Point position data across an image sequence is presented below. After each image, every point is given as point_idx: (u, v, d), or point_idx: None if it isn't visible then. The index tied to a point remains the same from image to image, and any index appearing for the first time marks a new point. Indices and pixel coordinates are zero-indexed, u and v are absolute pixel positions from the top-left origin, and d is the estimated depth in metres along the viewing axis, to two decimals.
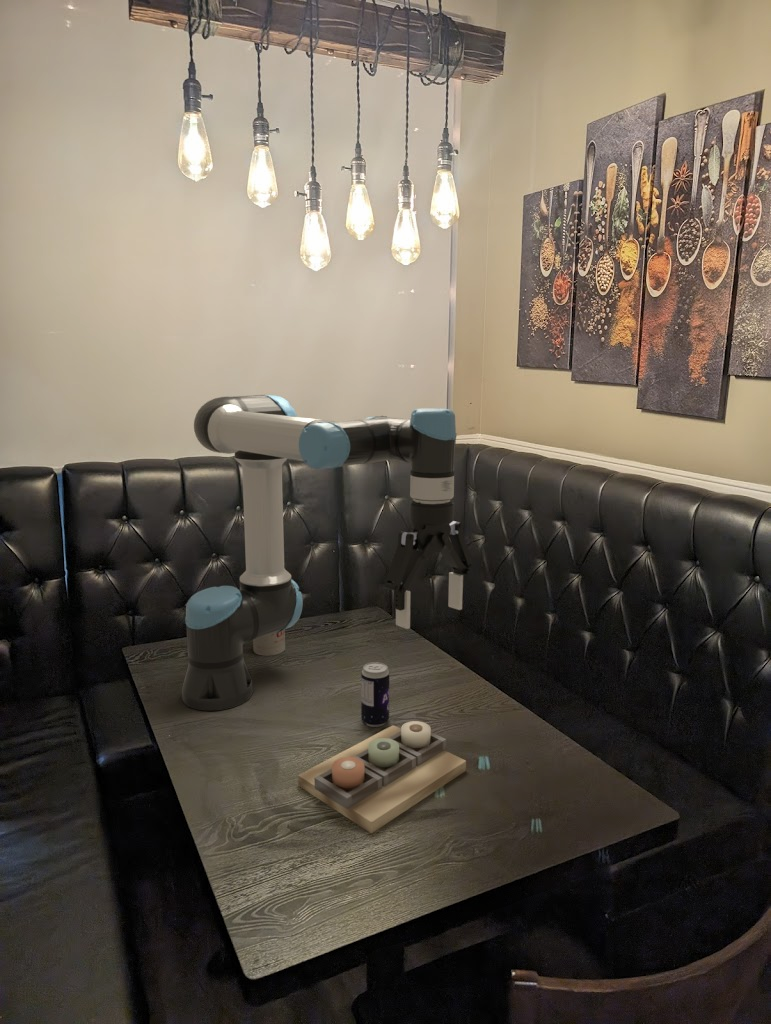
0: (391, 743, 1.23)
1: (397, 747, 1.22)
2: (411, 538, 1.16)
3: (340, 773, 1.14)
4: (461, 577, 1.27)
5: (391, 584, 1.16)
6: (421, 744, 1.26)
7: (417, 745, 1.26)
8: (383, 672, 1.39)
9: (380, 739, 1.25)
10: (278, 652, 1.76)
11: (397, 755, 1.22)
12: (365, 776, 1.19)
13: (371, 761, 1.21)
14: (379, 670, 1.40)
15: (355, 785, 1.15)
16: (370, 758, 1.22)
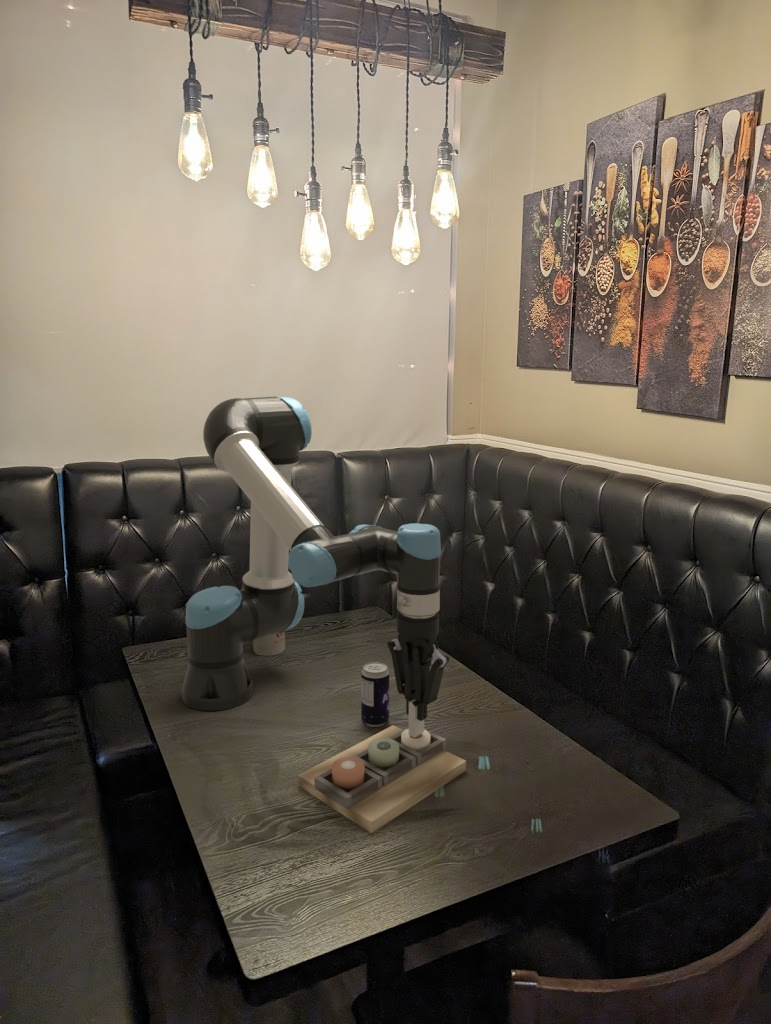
0: (391, 743, 1.23)
1: (397, 747, 1.22)
2: (389, 645, 1.28)
3: (340, 773, 1.14)
4: (413, 705, 1.26)
5: None
6: None
7: None
8: (383, 672, 1.39)
9: (380, 739, 1.25)
10: (278, 652, 1.76)
11: (397, 755, 1.22)
12: (365, 776, 1.19)
13: (371, 761, 1.21)
14: (379, 670, 1.40)
15: (355, 785, 1.15)
16: (370, 758, 1.22)
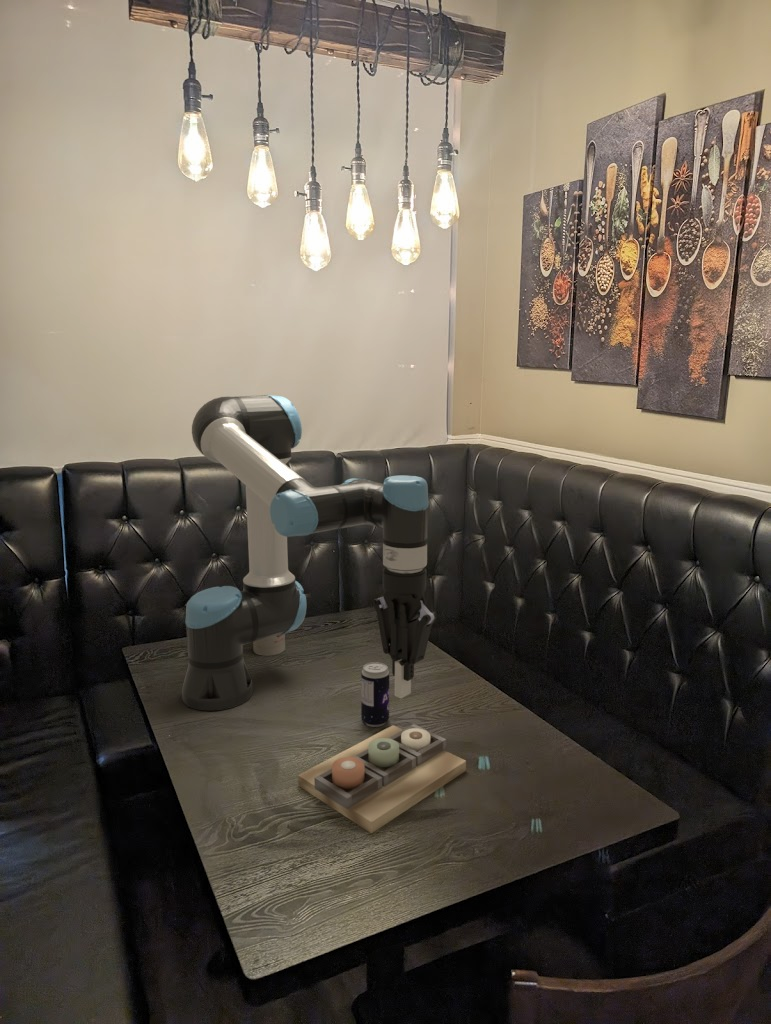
0: (391, 743, 1.23)
1: (397, 747, 1.22)
2: (374, 603, 1.24)
3: (340, 773, 1.14)
4: (399, 665, 1.22)
5: None
6: None
7: None
8: (383, 672, 1.39)
9: (380, 739, 1.25)
10: (278, 652, 1.76)
11: (397, 755, 1.22)
12: (365, 776, 1.19)
13: (371, 761, 1.21)
14: (379, 670, 1.40)
15: (355, 785, 1.15)
16: (370, 758, 1.22)
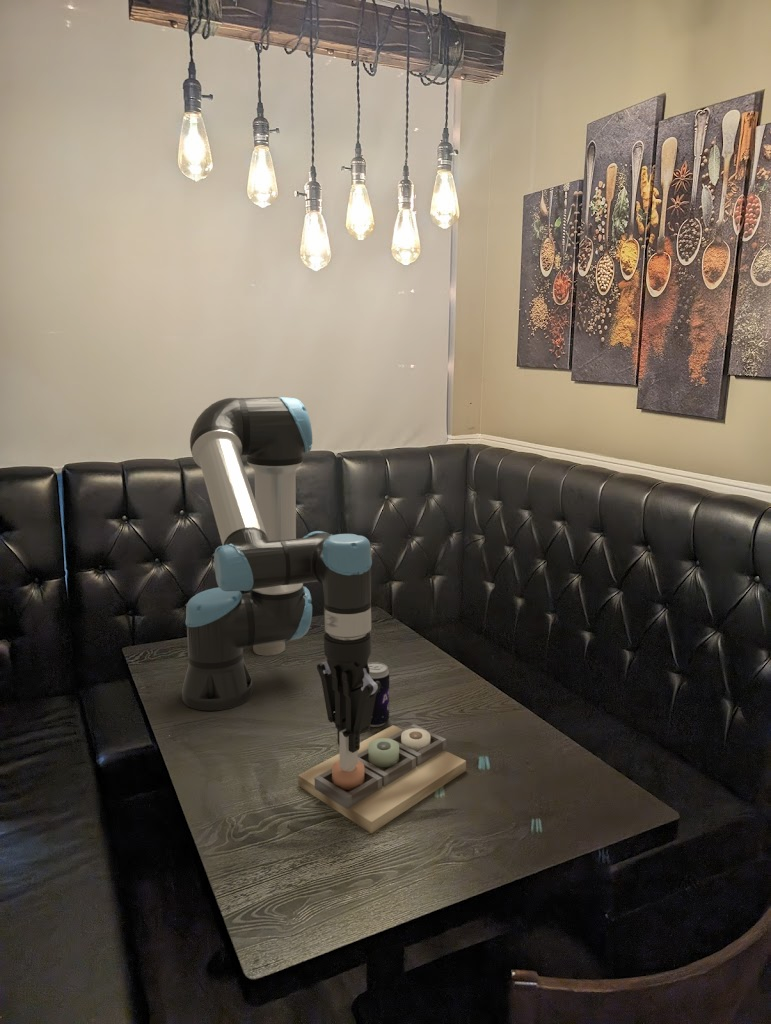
0: (391, 743, 1.23)
1: (397, 747, 1.22)
2: (318, 668, 1.16)
3: (340, 775, 1.14)
4: (343, 735, 1.14)
5: None
6: None
7: None
8: (383, 672, 1.39)
9: (380, 739, 1.25)
10: (278, 652, 1.76)
11: (397, 755, 1.22)
12: (365, 776, 1.19)
13: (371, 761, 1.21)
14: (379, 670, 1.40)
15: (355, 787, 1.15)
16: (370, 758, 1.22)
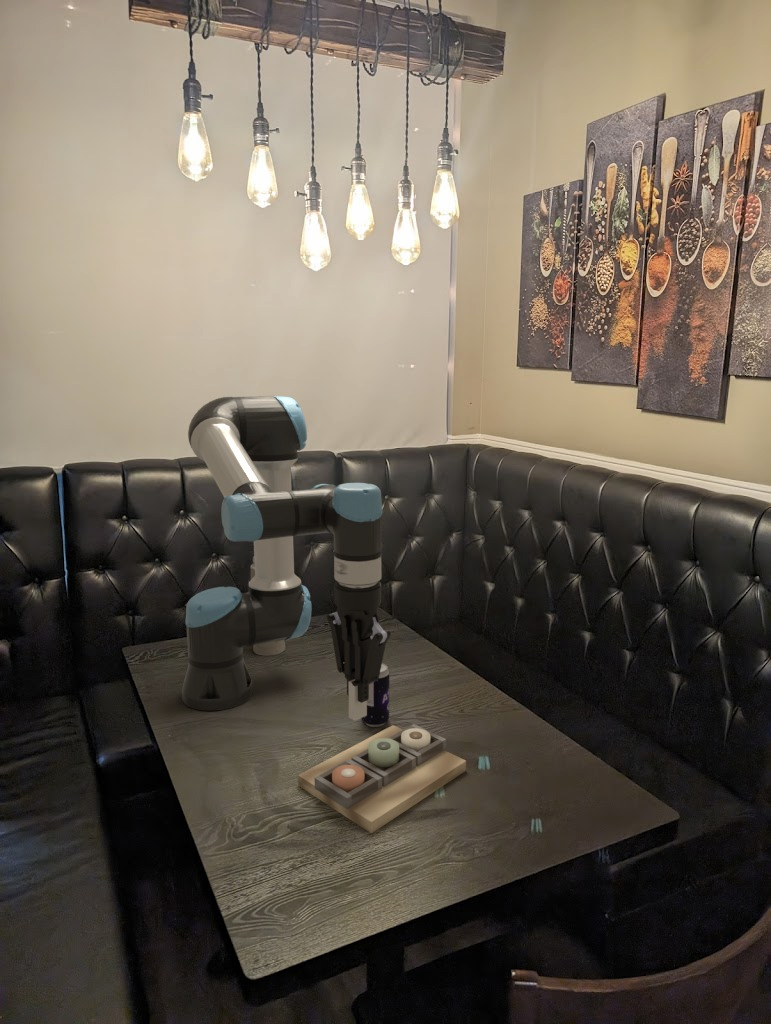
0: (391, 743, 1.23)
1: (397, 747, 1.22)
2: (328, 619, 1.16)
3: (340, 781, 1.15)
4: (353, 685, 1.14)
5: None
6: None
7: None
8: (383, 672, 1.39)
9: (380, 739, 1.25)
10: (278, 652, 1.76)
11: (397, 755, 1.22)
12: (365, 776, 1.19)
13: (371, 761, 1.21)
14: None
15: None
16: (370, 758, 1.22)
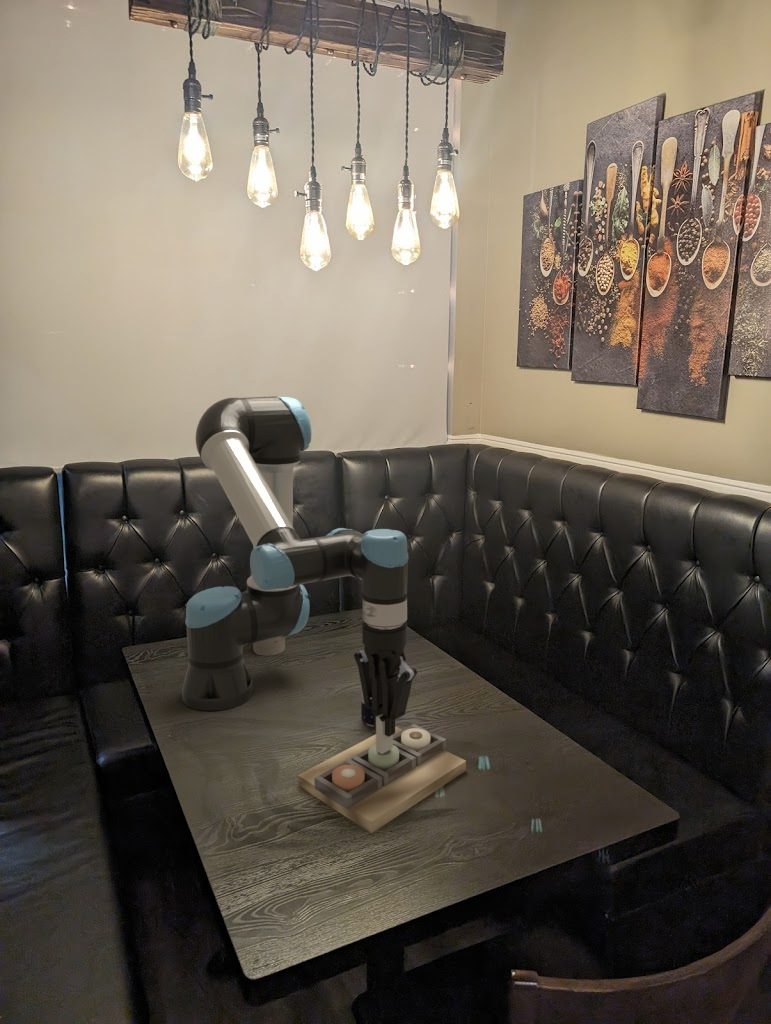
0: None
1: (397, 752, 1.22)
2: (356, 657, 1.22)
3: (340, 781, 1.15)
4: (380, 720, 1.20)
5: None
6: None
7: None
8: None
9: None
10: (278, 652, 1.76)
11: (397, 760, 1.22)
12: (365, 776, 1.19)
13: None
14: None
15: None
16: (370, 763, 1.22)
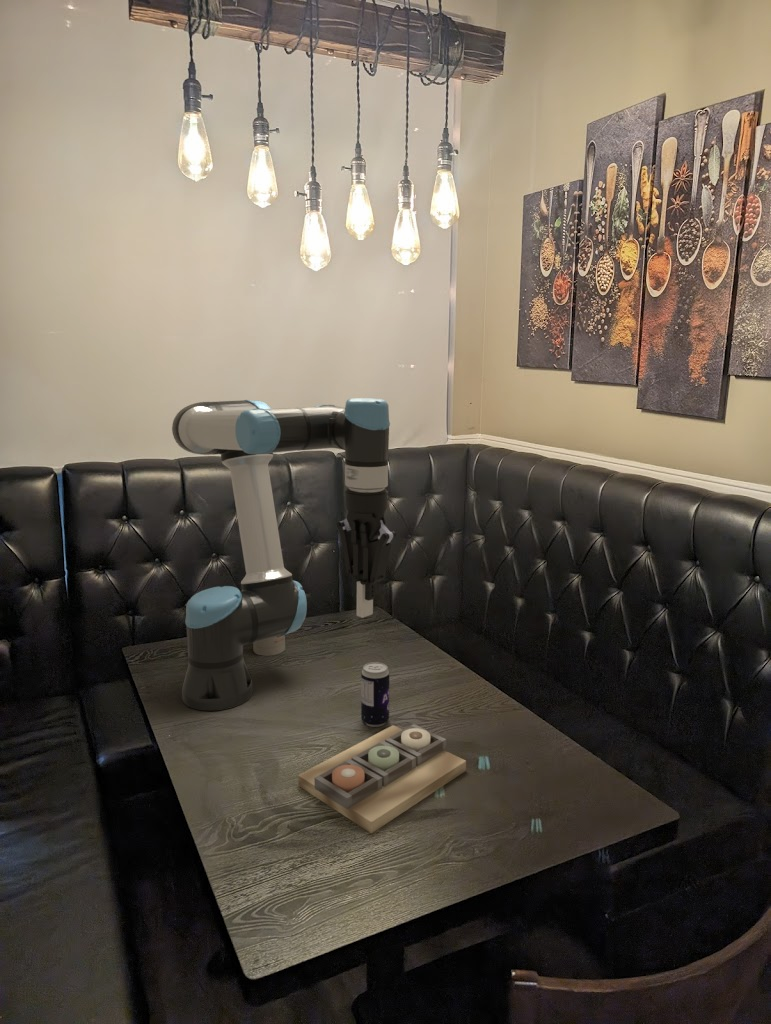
0: (391, 751, 1.24)
1: (397, 755, 1.23)
2: (338, 525, 1.27)
3: (340, 781, 1.15)
4: (361, 584, 1.25)
5: None
6: None
7: None
8: (383, 672, 1.39)
9: (380, 746, 1.25)
10: (278, 652, 1.76)
11: (397, 763, 1.22)
12: (365, 776, 1.19)
13: None
14: (379, 670, 1.40)
15: None
16: None
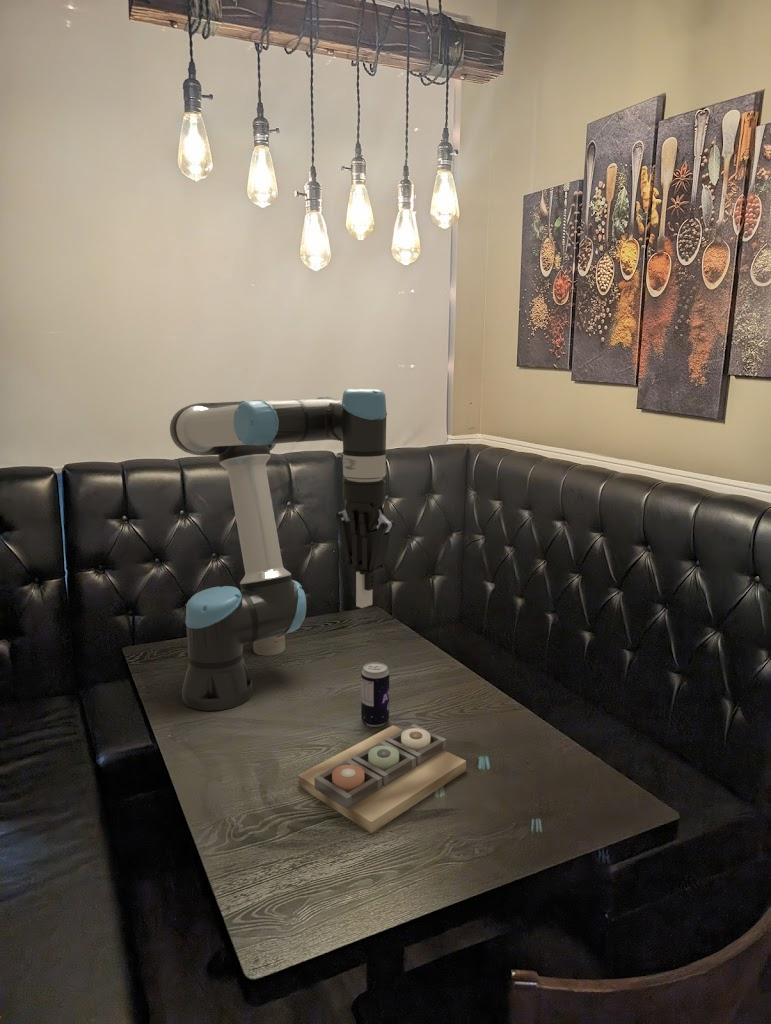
0: (391, 751, 1.24)
1: (397, 755, 1.23)
2: (337, 516, 1.28)
3: (340, 781, 1.15)
4: (360, 575, 1.26)
5: None
6: None
7: None
8: (383, 672, 1.39)
9: (380, 746, 1.25)
10: (278, 652, 1.76)
11: (397, 763, 1.22)
12: (365, 776, 1.19)
13: None
14: (379, 670, 1.40)
15: None
16: None
